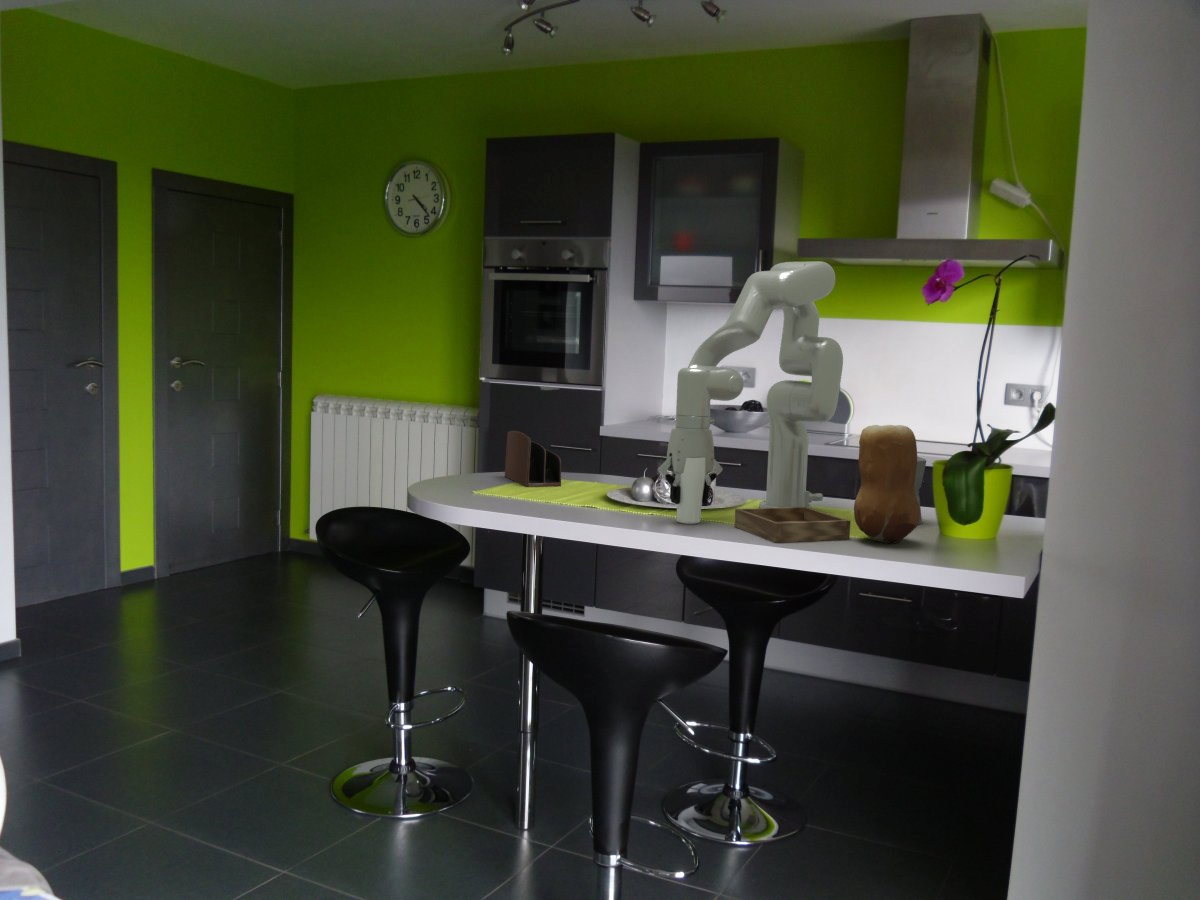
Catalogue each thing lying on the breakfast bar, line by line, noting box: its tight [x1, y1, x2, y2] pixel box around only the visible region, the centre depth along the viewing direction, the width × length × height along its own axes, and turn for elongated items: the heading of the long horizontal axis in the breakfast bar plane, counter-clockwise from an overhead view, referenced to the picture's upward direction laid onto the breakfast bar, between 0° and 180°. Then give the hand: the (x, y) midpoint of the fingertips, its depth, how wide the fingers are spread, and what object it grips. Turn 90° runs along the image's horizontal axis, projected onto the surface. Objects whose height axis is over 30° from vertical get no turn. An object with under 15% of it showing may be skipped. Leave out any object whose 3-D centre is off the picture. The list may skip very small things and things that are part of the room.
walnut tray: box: [734, 507, 852, 544], centre depth 236 cm, size 18×18×4 cm
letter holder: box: [504, 430, 562, 488], centre depth 299 cm, size 10×20×14 cm, turn 22°
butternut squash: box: [853, 424, 922, 545], centre depth 228 cm, size 14×13×25 cm
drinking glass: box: [676, 458, 706, 525], centre depth 244 cm, size 7×7×15 cm
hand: (689, 502), depth 244 cm, fingers closed on drinking glass, 6 cm apart
